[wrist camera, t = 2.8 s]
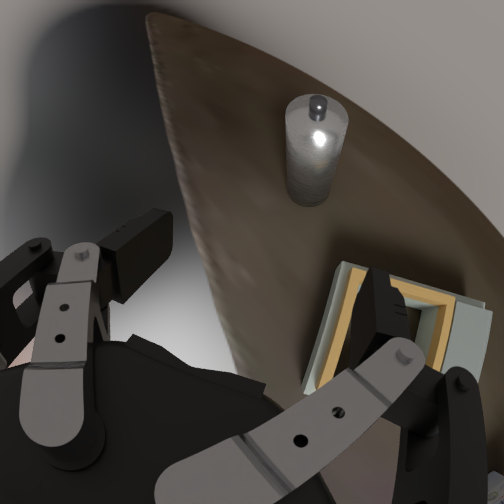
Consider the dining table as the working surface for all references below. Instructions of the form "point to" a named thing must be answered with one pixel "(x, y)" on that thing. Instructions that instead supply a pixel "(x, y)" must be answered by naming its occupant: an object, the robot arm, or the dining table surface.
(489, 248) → the dining table surface
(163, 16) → the dining table surface
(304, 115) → the grey tall cylinder
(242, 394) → the robot arm
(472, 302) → the bottle holder tray
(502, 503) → the medicine box
